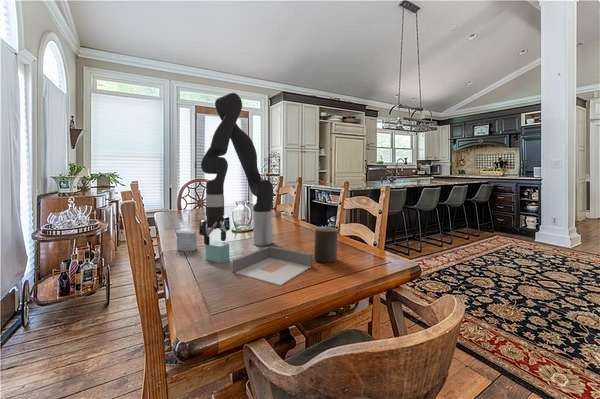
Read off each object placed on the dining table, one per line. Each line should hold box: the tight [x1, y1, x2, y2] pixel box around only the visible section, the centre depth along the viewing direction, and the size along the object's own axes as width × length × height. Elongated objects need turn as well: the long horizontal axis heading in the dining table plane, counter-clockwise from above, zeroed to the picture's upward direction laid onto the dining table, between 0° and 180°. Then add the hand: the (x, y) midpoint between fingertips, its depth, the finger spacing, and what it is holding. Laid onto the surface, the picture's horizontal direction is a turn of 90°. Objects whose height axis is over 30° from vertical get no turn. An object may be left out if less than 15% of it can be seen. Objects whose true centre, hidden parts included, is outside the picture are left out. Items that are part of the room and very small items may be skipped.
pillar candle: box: [313, 226, 339, 264], centre depth 120 cm, size 10×10×15 cm
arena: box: [232, 245, 314, 287], centre depth 109 cm, size 22×22×5 cm
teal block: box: [204, 240, 231, 264], centre depth 119 cm, size 5×9×7 cm, turn 58°
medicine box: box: [175, 230, 198, 252], centre depth 133 cm, size 8×4×9 cm, turn 84°
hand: (215, 242), depth 119 cm, fingers open, 8 cm apart
